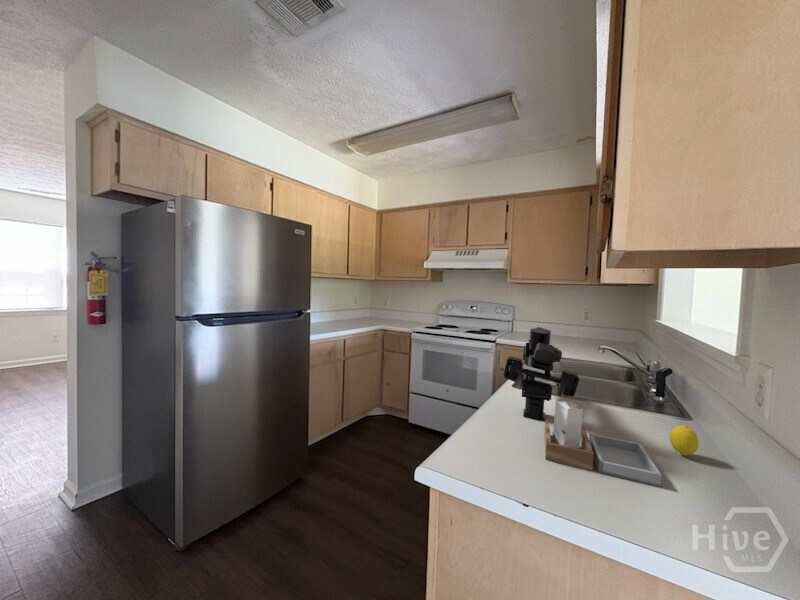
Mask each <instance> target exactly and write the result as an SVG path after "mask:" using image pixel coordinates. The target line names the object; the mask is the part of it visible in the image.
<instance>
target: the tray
mask: <svg viewBox="0 0 800 600" xmlns="http://www.w3.org/2000/svg"><path fill="white" fill-rule="evenodd" d="M588 439H589V442H590V445H591V448H592V451H593V454H594V455H593V461H594V463H595V466H596V470H597V472H598V473H599V474H604V475H609V476H612V477H617V478H620V479H625V480H630V481H634V482H638V483H642V484H646V485H651V486H655V487H659V488H661V487H662V481H663V479H662V478H663V475H662V473H661V472H660V470H659V469H658V467H657V466H656V464H655V463H654V461H653V460H652V458H651V457H650V455H649V453H648V452H647V451H646V449H645V448H644V447H643V444H642V443H640V442H635V441H630V440H624V439H620V438H619V439H618V438H616V437H615V438H614V437H610V436H604V435H599V434H594V433H589V435H588Z"/></svg>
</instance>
